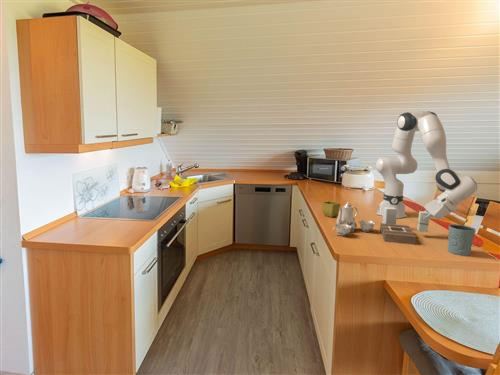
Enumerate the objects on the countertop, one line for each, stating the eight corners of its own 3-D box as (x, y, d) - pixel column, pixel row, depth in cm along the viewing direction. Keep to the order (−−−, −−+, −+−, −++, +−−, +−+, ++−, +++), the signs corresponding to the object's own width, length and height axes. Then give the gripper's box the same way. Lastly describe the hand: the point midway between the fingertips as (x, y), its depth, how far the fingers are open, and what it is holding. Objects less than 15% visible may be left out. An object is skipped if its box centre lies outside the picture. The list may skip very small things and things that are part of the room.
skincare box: (391, 227, 181) (393, 207, 179) (395, 229, 177) (397, 209, 175) (381, 227, 181) (383, 207, 179) (384, 229, 177) (386, 208, 175)
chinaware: (343, 242, 159) (348, 211, 154) (320, 231, 172) (324, 202, 168) (378, 234, 174) (383, 205, 169) (353, 224, 187) (358, 197, 183)
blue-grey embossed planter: (448, 254, 141) (451, 228, 139) (443, 247, 150) (446, 223, 148) (475, 258, 137) (478, 231, 135) (468, 250, 146) (471, 225, 144)
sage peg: (417, 229, 168) (419, 211, 166) (425, 229, 166) (427, 211, 165) (418, 231, 164) (420, 212, 162) (427, 232, 163) (429, 213, 161)
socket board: (380, 230, 176) (380, 222, 175) (407, 232, 172) (408, 225, 171) (384, 241, 157) (385, 233, 156) (415, 244, 153) (416, 236, 152)
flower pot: (332, 218, 198) (332, 204, 197) (320, 215, 205) (321, 202, 203) (339, 216, 204) (340, 203, 202) (328, 213, 210) (329, 200, 209)
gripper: (435, 193, 170) (413, 209, 174) (447, 201, 151) (422, 219, 155) (443, 202, 169) (421, 218, 174) (456, 211, 150) (431, 228, 154)
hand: (422, 218), depth 164 cm, fingers closed on sage peg, 4 cm apart
